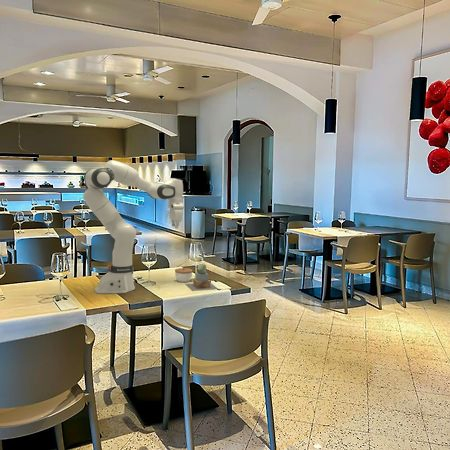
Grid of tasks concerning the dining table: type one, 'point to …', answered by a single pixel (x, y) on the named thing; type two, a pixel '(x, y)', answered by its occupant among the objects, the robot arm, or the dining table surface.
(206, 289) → the mat
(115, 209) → the robot arm
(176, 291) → the dining table surface
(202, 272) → the olive green cylinder
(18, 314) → the dining table surface
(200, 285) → the block
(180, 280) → the lidded jar
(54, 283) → the dining table surface
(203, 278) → the tower top
